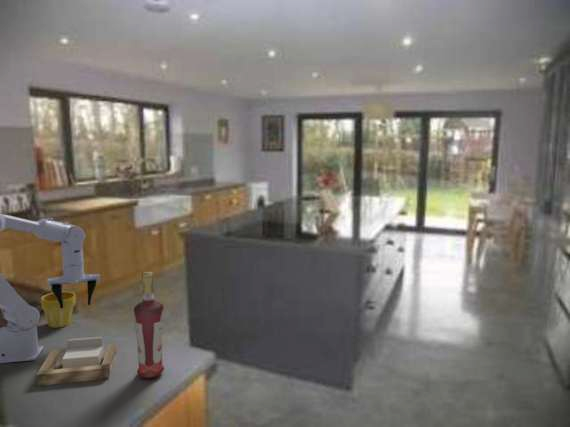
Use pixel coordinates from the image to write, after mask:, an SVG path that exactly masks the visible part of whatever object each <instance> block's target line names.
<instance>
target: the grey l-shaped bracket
mask: <svg viewBox="0 0 570 427" xmlns="http://www.w3.org/2000/svg"><path fill="white" fill-rule="evenodd" d="M103 358H104V338H103V336H93V337H92V336H91V337H80V338H79V337H78V338H68V339H67V350H66V352H65V353H64V355H63V357H62V358H61V364H62V369H64V368H74V367H85V366H95V365H101V362H102V361H103Z"/></svg>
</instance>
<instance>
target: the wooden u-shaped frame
mask: <svg viewBox="0 0 570 427" xmlns="http://www.w3.org/2000/svg"><path fill="white" fill-rule="evenodd" d="M105 351H106V352H105V355H104V356H103V359H102V361H101V362H102V364H100V365H95V366H85V367H74V368H64V369H63V368H57V367H58V364H59V363H60V360H62V358H61V357H62V356H61V348H54V349H51V351H50V352H49V354H48V355H47V357H46V359H45V360H44V362H43V363H42V365H41V366H40V369H39V370H38V371H37V373H36V386H37V387H39V386H40V387H41V386H50V385H59V384H61V385H62V384H67V383H77V382H78V383H79V382H88V381H89V380H90V381H97V379H100V380H108V379H110V377H111V373H112V370H113V368H114V364H115V361H114V360H116V357H117V355H118V354H117V343H112V344H111V343H110V344H108V346H107V349H106V350H105ZM107 378H108V379H107Z"/></svg>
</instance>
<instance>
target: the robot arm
mask: <svg viewBox="0 0 570 427" xmlns="http://www.w3.org/2000/svg"><path fill="white" fill-rule="evenodd" d="M5 229H11V230H16V231H17V230H18V231H21V232H22V231H24V232H27V233H28V232H30V233H33V234H34V235H35V237H36V238H37V239H42V240H48V241H52V242H53V241H54V242H57V243H61V256H62V257H61V258H62V273H63V274H62V275H63V276H59V277H52V278H51V277H50V278H47V280H46V283H47V287H51V291H52V293H54V294H55V296H56V297H57V299H58V301H59V304H60V308H63V297H62V292H63V285H70V284H71V285H72V284H81V283H87V285H86V286H87V287H86V288H87V306H91V302H92V301H91V300H92V297H93V294H94V290H95V288H96V286H97V283H98V282H99V283H100V282H101V280H100V279H101V278H100V273H93V274H91V273H89V274H88V273H87V274H86V273H85V270H84V269H85V268H84V266H85V265H84V252H83V251H84V250H83V247H84V246H83V244H84V242H85V240H86V237H87V234H86V233H85V231H84V229H83V228H82V227H80V226H78V225H74V224H70V223H69V222H67V221H63V222H60V221H56V220H54V218H51V217H46V218H41V219H39V220H36V221H34V220H29V219H25V218H21V217H18V216H17V217H16V216H13V215H8V214H5V213H0V232H2V231H4V230H5ZM0 310H1V312H2V313H1V314H2V317H3V318H4V320H6V321H7V324H6V326H3V327H0V364H5V363H8V364H9V363H16V362H19V363H20V362H28V361H35V360H37V358H38V357H39V355H40V354H41V353H42V351H43V349H44V346H43V345H41V346H39V338H38V326H37V325H38V322H39V320H40V317H41V314H40V310H39V309H38V308H36V307H34V306H31V305H30V304H29V303H28V301H26V300H25V299H24V298H22V296H20V295H19V293H18V292H16V290H15V289H14V288H13V286H12V284H10V283H9V282H8V280H7V279H6V278H5V276H4V275H3V274H2V273H1V272H0Z"/></svg>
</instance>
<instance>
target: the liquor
mask: <svg viewBox="0 0 570 427" xmlns="http://www.w3.org/2000/svg"><path fill="white" fill-rule="evenodd" d="M141 278H142V279H141V280H142V283H143V290H142V301H141V302H139V303H137V304H136V305H135V306H134V307H133V312H134V314H133V315H134V327H135V335H136V344H137V357H138V358H137V360H138V368H137V371H136V372H137V375H139V376H140V377H142V378H143V379H146V380H147V379H155V378H157V377H158V376H159V375H161V374H162V373H163V371H164V370H165V366H164V365H163V335H164V328H163V327H164V304H163V303H161V302H159V300H158V301H157V300H155V294H154V287H153V282H154V272H153V271H144V272H142V273H141Z"/></svg>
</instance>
